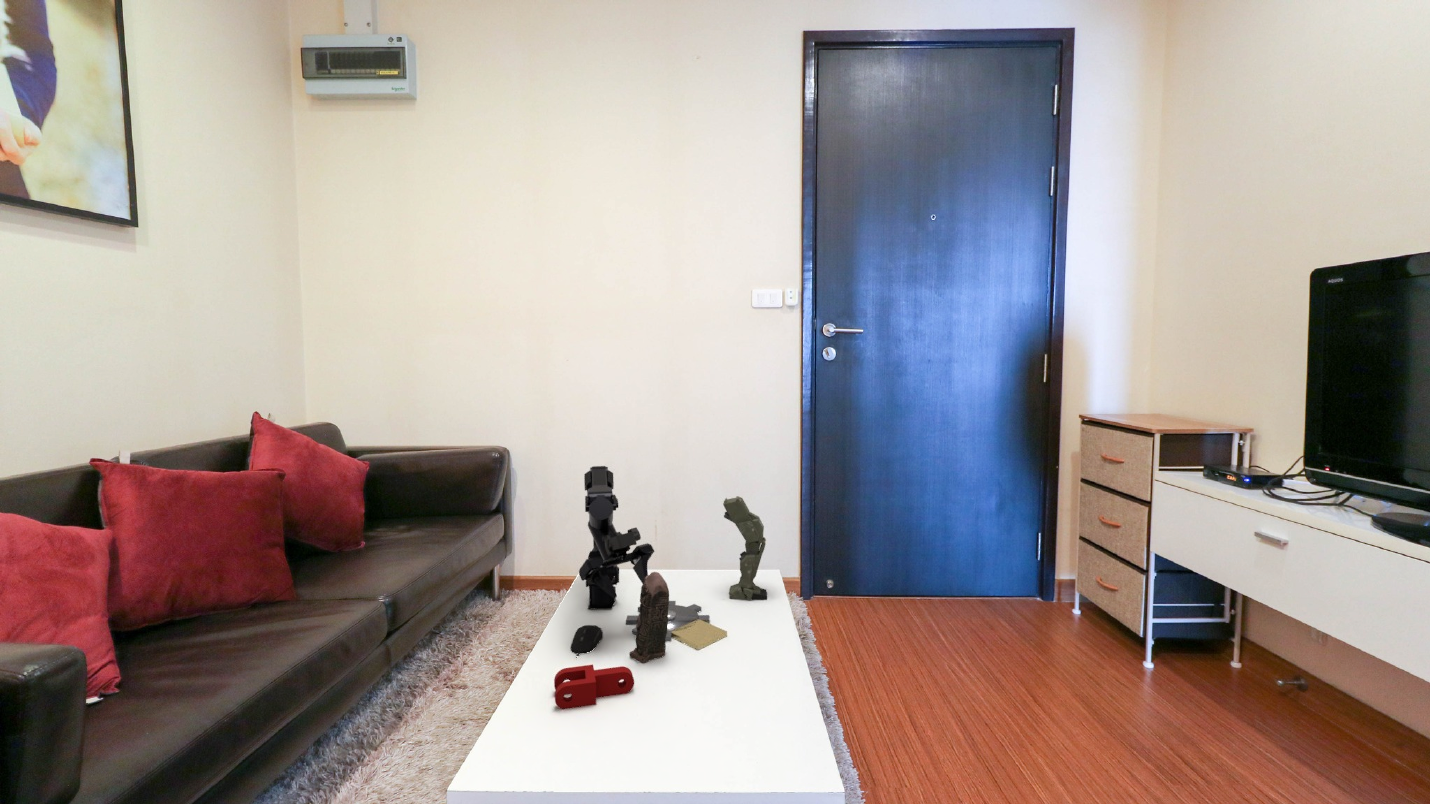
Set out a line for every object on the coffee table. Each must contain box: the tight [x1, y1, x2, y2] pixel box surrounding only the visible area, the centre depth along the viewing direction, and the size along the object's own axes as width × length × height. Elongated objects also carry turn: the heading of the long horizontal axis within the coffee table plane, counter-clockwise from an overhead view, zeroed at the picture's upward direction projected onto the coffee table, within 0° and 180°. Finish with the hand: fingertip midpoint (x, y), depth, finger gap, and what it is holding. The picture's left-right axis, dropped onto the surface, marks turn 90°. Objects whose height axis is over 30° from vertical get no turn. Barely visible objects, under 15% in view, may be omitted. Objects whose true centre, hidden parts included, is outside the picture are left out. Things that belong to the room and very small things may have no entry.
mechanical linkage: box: [553, 664, 635, 711], centre depth 130 cm, size 16×7×5 cm, turn 105°
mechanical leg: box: [722, 496, 768, 601], centre depth 180 cm, size 14×7×30 cm, turn 84°
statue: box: [629, 571, 670, 664], centre depth 145 cm, size 7×7×20 cm
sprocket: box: [625, 600, 728, 650], centre depth 162 cm, size 27×21×2 cm
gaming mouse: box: [570, 624, 604, 659], centre depth 152 cm, size 6×15×4 cm, turn 174°
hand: (631, 592), depth 150 cm, fingers open, 9 cm apart
